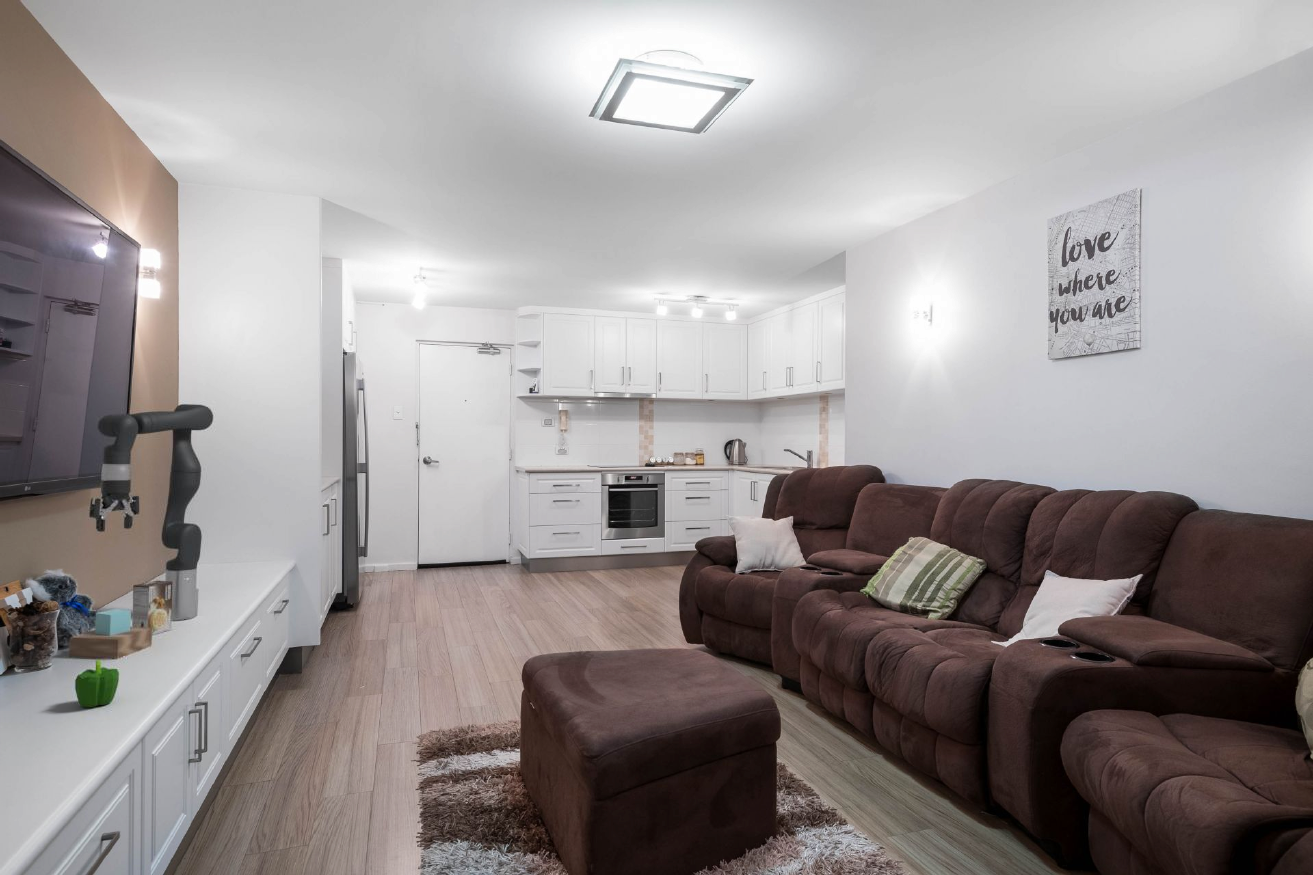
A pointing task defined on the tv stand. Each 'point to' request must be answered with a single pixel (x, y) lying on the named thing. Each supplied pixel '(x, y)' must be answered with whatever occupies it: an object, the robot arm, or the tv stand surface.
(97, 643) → the walnut block
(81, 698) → the bell pepper
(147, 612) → the coffee box
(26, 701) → the tv stand surface
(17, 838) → the tv stand surface
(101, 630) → the teal cube
